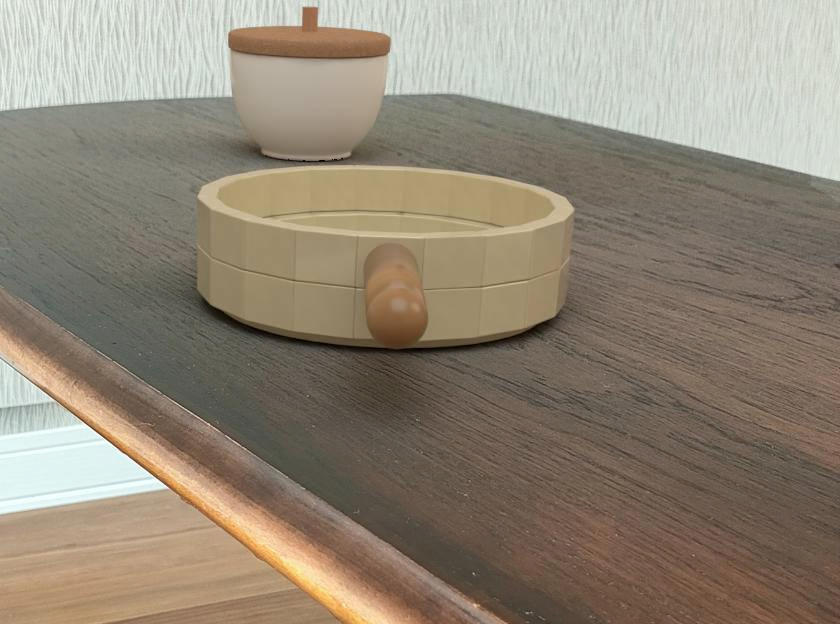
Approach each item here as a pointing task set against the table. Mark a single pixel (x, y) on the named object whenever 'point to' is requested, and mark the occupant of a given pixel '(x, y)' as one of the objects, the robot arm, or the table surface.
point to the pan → (372, 226)
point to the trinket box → (307, 86)
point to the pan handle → (394, 296)
